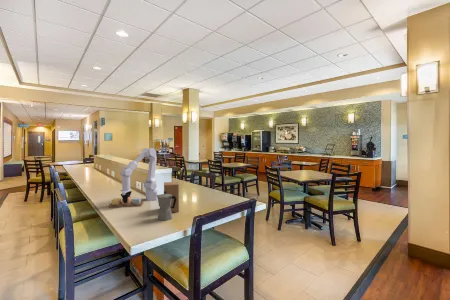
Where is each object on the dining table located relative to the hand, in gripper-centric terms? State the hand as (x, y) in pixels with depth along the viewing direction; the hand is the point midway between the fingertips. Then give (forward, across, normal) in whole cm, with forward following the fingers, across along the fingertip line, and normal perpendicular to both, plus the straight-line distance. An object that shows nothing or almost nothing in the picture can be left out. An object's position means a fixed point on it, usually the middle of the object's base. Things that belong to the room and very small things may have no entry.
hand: (126, 201), depth 172 cm
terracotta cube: (+2, 0, 0) cm, 2 cm away
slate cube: (+3, 0, +7) cm, 8 cm away
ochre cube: (+3, 0, -7) cm, 8 cm away
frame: (+3, 0, 0) cm, 3 cm away
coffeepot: (+4, +31, +33) cm, 46 cm away
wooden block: (+4, +15, +35) cm, 38 cm away
